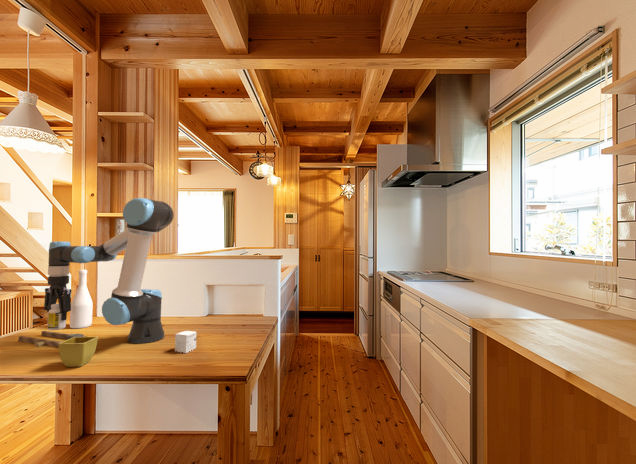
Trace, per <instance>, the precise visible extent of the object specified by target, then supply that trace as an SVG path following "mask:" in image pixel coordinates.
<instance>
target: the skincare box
mask: <svg viewBox="0 0 636 464" xmlns="http://www.w3.org/2000/svg"><path fill="white" fill-rule="evenodd" d="M174 340H175V341H174V342H175V343H174V352H176V351H177V352H176V353H182V352H183V354H187V353H190V352H192V351H194V350H193V349H195V348H196V349H197V331H193V330H192V331H191V330H184V331H180V332H178V333H175V339H174ZM196 349H195V350H196ZM191 350H192V351H191ZM189 351H190V352H189Z"/></svg>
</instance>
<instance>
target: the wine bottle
mask: <svg viewBox="0 0 636 464" xmlns="http://www.w3.org/2000/svg"><path fill="white" fill-rule="evenodd" d="M87 274H88V270H87V269H79V270H78V286H77V288H76V291H75V293H74V296H73V298H72V299H71V311H69V327H70V328H71V329H85V328H88V327H91V326H92V324H93V311H94V310H93V309H94V308H93V305H94V303H93V299H92V297H91V294H90V291H89V289H88V286H87V276H88V275H87Z"/></svg>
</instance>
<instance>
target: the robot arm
mask: <svg viewBox="0 0 636 464" xmlns="http://www.w3.org/2000/svg"><path fill="white" fill-rule="evenodd" d="M174 215H175V214H174V210H173V208H172V207H171V205H169V204H168V203H166V202H164V201H161V200H154V199H149V198H148V197H147V198H145V197H136V198H132V199H130V200H129V201H127V203H126V204H125V205H124V207H123V210H122V218H123V220H124V222H125V223H126V229H125V230H123V231H122V232H120V233H117V235H115V236H113V237H111V238H110V239H108V240H107V241H105V242H103V243H102V244H100V245H71V242H70V241H58V240H57V241H55V240H54V241H51V242H50V243H49V247H48V266H47V268H48V269H47V275H48V276H47V285H49V287H46V288H44V304H43V310H44V311H46V313H48V312H49V310H51V305H52V304H57V302H58V303H59V308H60V312H59V321H58V328H63V327H65V328H66V327H67V315H68V313H70V311H71V302H72V295H71V294H72V289H71V288H70V289H69V288H67V284H69V283H70V276H69V274H70V264H71V263H72V264H73V263H74V264H76V263H77V264H88V263H96V262H110V261H114V260H115V259H116V257H117V256H118V254H119V253H121V252H123V251H124V250H125V251H124V255H123V260H122V264H121V265H122V266H121V270H120V272H119V273H120V275H119V279H118V281H117V282H118V283H117V287H115V288H114V289H112V291H111V296H110V297H109V298H107V299H106V300H105V301H103V304H102V306H101V313H102V317H103V318H104V319H105V320H104V321H106V322H107V323H108V324H110V325H113V326H120V325H125V324H127V323H130V322H132V324H131V327H130V331H129V333H128V336H127V342H129V343H131V344H147V343H153V342H154V343H155V342H158V341H160V340H162V339H164V338H165V331H164V328H163V324H162V299H163V296H162V291H161V290H159V289H150V288H148V289H147V288H145V289H144V288H142V289H141V287H142V283H143V278H144V274H145V270H146V269H145V268H146V265H147V260H148V255H149V250H150V246H151V243H152V237H153V235H155V234H158V233H159V232H161V231H163V230H164V229H166V228H167V227H169V225H171V224H172V222H173V221H174V217H175V216H174ZM47 319H48V315H47ZM46 324H47V328H48V322H47V323H46ZM63 329H64V328H63Z"/></svg>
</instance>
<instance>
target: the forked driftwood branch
mask: <svg viewBox="0 0 636 464" xmlns="http://www.w3.org/2000/svg"><path fill="white" fill-rule="evenodd" d="M40 336H42V337H49V338H55V339H56V338H57V339H62V340H68V339H71V338H73V337H88V336H85V335H84V334H82V333H73V332H72V333H63V332H55V331H51V330H42V331H41V334H40ZM17 338H18V342H22V343H27V344H28V343H29V344H34V347H36V348H39V347H43V346H45V347H46V346H48V347H53V348H59V343H61V342H62V341H60V340H59V341H56V340H51V339H45V338H37V337H31V336H25V335H19V336H18V337H17Z"/></svg>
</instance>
